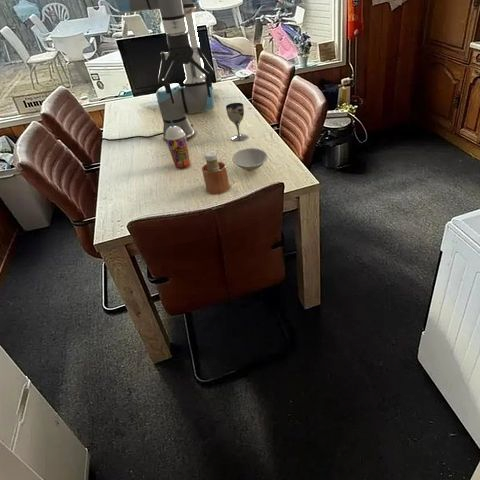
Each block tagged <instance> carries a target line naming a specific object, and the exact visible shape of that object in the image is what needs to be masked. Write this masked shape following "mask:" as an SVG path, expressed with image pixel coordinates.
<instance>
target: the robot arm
mask: <svg viewBox="0 0 480 480" xmlns="http://www.w3.org/2000/svg"><path fill="white" fill-rule="evenodd" d="M114 3H115V6H116V8H117V10H118V11H119V13H120V14H132V13H139V12H146V11H154V10H159V12H160V15H161V16H160V17H161V21H162V26H163V29H164V33H165V34H166V36H165V37H166V42H167V46H168V51H167V52H166V51H161V52H160V56H161V61H160V66H159V71H158V72H159V73H158V77H157V83H158V84H162V85H163V86H162V87H159V88H158V89H157V91H156V93H155V95H156V100H157V104H158V107H159V111H160V116H161V118H162V122H163V127H162V128H163V131H162V132H159V133H155V134H152V135H133V136H127V137H121V138H119V137H118V138H106V137H101V138H100V140H99V142H103V141H106V142H117V141H118V142H119V141H125V140H131V139H140V138H141V139H151V138H155V137H158V136H163V140H164V141H166V139H165V135H166V131H167V129H168V128H169V127H171V126H172V125H171V121H170V119H172V122H173V126H178V127H180V128H181V129H182V130H183V132H185V136H186V141H188V140H190V139H192V138H193V137H194V136H195V130H194V125H193V123H192V124H191V122H190V121H189V118H188V116H187V114H196V113H200V112H209V111H212V110H214V108H215V99H214V84H213V82H212V76H214V75H216V72H215V70H214V69H213V67H212V66H211V64H210V63H209V61H208V60H207V58H206V56H205V55H204V54H203V51H202V48H201V46H200V42H199V37H198V32H197V31H198V30H197V26H196V21H195V15H194V13H195V11H196V9H197V6H196V5H197V4H198V3H199V0H114ZM168 58H170V59H171V60H172V61H171V63H170V66H169V68H168V70H167V72H166V74H165V76H164V71H165V67H166V61H167V60H168ZM177 65H179V66H183V69H184V73H185V80H184V81H183V85H184V86H181V85H180V84H179V83H170V82H169V81H170V79H171V77H172V74H173V73H174V70H175V68H176V67H177ZM204 65H205V66H206V68H207V69H205V68H204ZM163 77H164V78H163Z"/></svg>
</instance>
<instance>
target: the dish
mask: <svg viewBox="0 0 480 480" xmlns="http://www.w3.org/2000/svg"><path fill="white" fill-rule="evenodd" d="M231 160H232V162H233V164H234V165H236V166H237V167H239V168H240V169H242V170H245V171H254V170H257V169H259V168H260V167H262V166H263V165H264V164H265V162H267V160H268V154H267V152H266V151H265V150H263V149H260V148H255V147H250V148H243V149H240V150H238V151H236V152H235V153H234V154H233V156H232V157H231Z"/></svg>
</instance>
